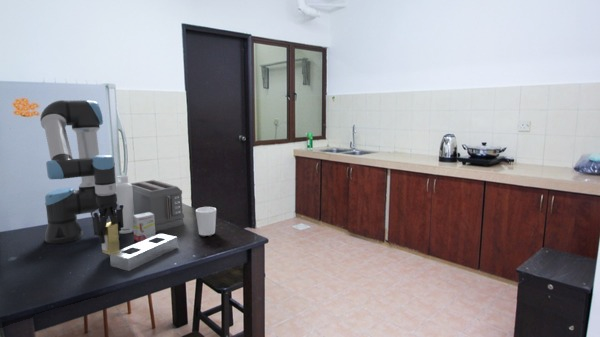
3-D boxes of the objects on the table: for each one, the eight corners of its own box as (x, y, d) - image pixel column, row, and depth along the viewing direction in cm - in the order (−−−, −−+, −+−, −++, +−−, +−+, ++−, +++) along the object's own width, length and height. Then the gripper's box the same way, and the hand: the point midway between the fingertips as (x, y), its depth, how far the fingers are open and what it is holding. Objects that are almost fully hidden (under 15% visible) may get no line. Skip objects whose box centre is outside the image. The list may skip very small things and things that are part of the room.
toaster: (154, 233, 183) (151, 193, 180) (124, 219, 205) (121, 183, 202) (187, 224, 197) (185, 187, 193) (156, 212, 219) (154, 178, 215)
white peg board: (110, 266, 146) (109, 254, 145) (160, 243, 169) (160, 233, 168) (128, 270, 142) (127, 258, 141) (177, 247, 165) (177, 236, 164)
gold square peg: (102, 252, 153) (100, 225, 151) (112, 248, 157) (109, 221, 155) (110, 254, 151) (107, 226, 149) (119, 250, 155) (117, 223, 153)
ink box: (138, 242, 171) (136, 217, 169) (133, 239, 175) (131, 215, 173) (156, 237, 177) (154, 213, 175) (151, 235, 181) (150, 211, 179)
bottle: (139, 229, 189) (135, 175, 184) (125, 234, 181) (121, 178, 176) (127, 227, 192) (123, 174, 187) (114, 232, 185) (109, 176, 180)
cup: (202, 239, 175) (201, 213, 173) (193, 234, 182) (191, 209, 180) (221, 234, 181) (220, 209, 179) (211, 229, 188) (210, 205, 186)
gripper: (92, 199, 140) (97, 257, 145) (130, 189, 156) (134, 242, 160) (79, 197, 143) (84, 253, 148) (118, 187, 159) (122, 239, 163)
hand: (110, 247), depth 154 cm, fingers closed on gold square peg, 4 cm apart
